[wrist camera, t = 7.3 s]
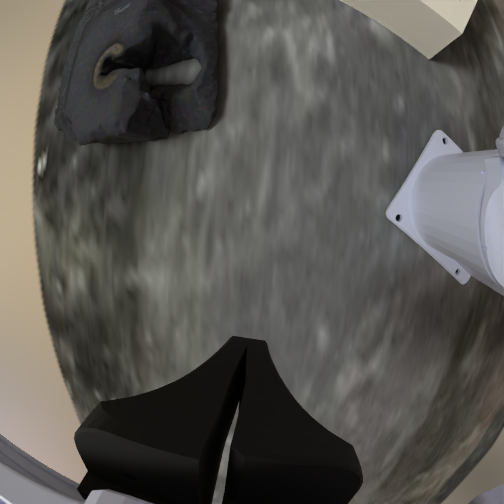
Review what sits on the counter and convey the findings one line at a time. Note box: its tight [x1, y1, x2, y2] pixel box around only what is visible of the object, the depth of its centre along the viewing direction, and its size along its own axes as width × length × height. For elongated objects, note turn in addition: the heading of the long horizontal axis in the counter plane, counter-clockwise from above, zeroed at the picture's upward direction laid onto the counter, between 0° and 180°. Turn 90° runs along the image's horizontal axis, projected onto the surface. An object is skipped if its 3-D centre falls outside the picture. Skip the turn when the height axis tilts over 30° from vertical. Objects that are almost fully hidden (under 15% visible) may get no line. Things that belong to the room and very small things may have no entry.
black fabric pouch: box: [54, 0, 219, 146], centre depth 15 cm, size 15×22×5 cm
